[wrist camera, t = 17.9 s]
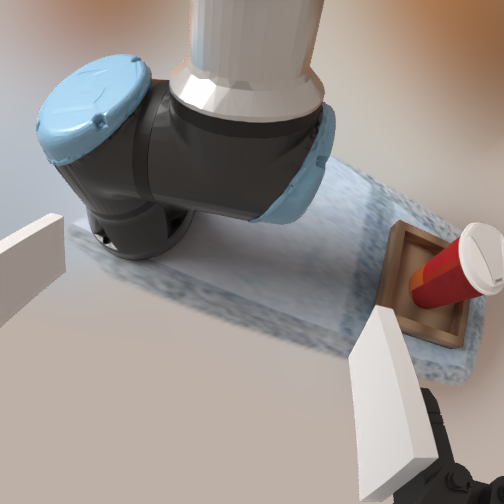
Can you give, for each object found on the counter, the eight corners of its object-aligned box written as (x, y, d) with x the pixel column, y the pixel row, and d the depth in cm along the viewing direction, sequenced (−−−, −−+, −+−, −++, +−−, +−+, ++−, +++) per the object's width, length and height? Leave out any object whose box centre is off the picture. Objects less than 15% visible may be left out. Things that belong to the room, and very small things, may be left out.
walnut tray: (369, 321, 40) (378, 318, 37) (390, 228, 45) (399, 219, 42) (450, 348, 39) (462, 346, 36) (463, 261, 44) (473, 255, 41)
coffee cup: (451, 311, 40) (522, 285, 26) (407, 322, 39) (478, 298, 25) (439, 257, 43) (502, 216, 29) (395, 263, 42) (456, 219, 28)
